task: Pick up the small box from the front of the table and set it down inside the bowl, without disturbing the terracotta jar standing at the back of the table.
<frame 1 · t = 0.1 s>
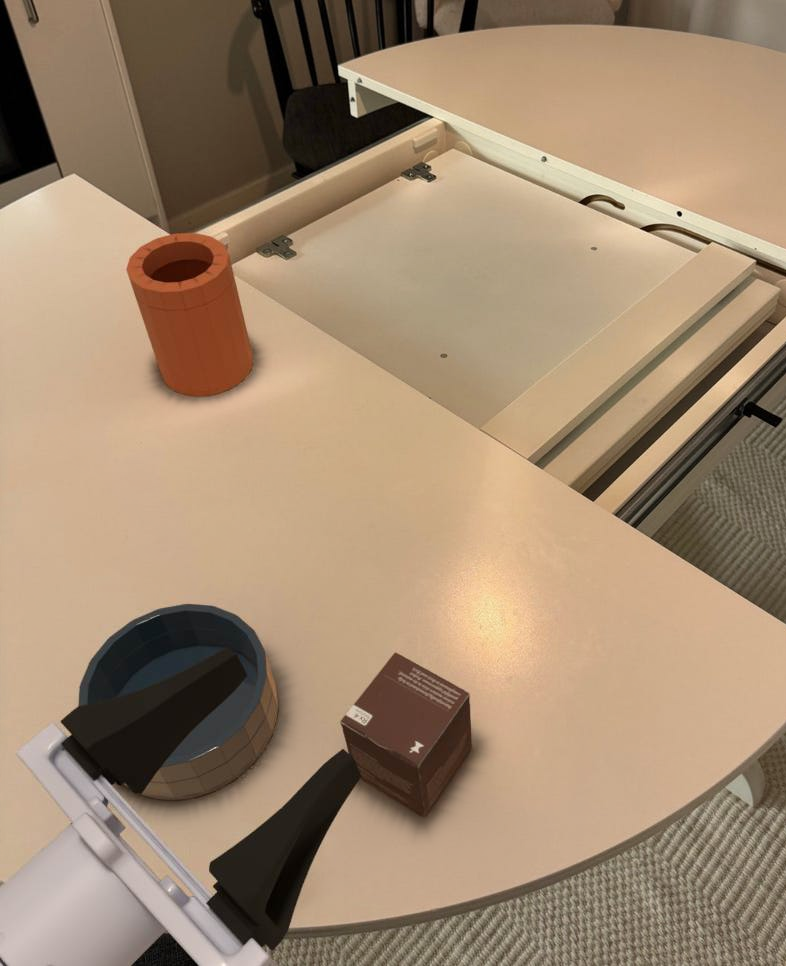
hand: (293, 709, 42), 23 cm above the table, tool horizontal, fingers open, 7 cm apart
jar: (207, 365, 92), on the table
box: (413, 761, 65), on the table
bowl: (190, 716, 67), on the table
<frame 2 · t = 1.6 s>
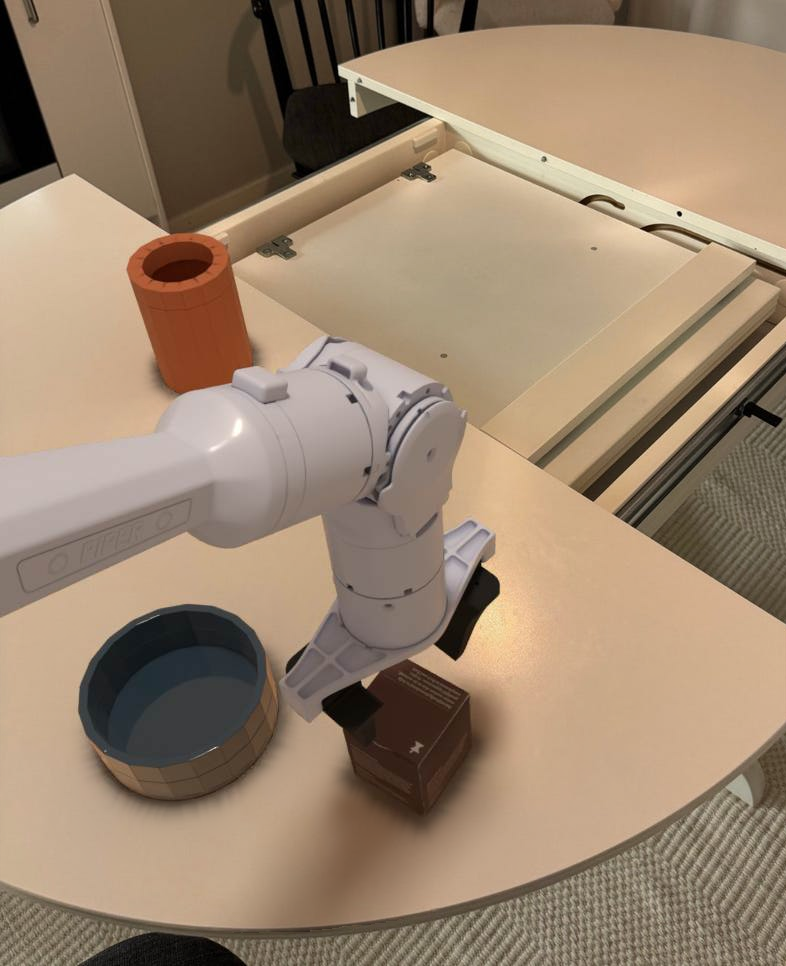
hand: (404, 689, 58), 9 cm above the table, tool pointing down, fingers open, 7 cm apart
nothing on the table moved.
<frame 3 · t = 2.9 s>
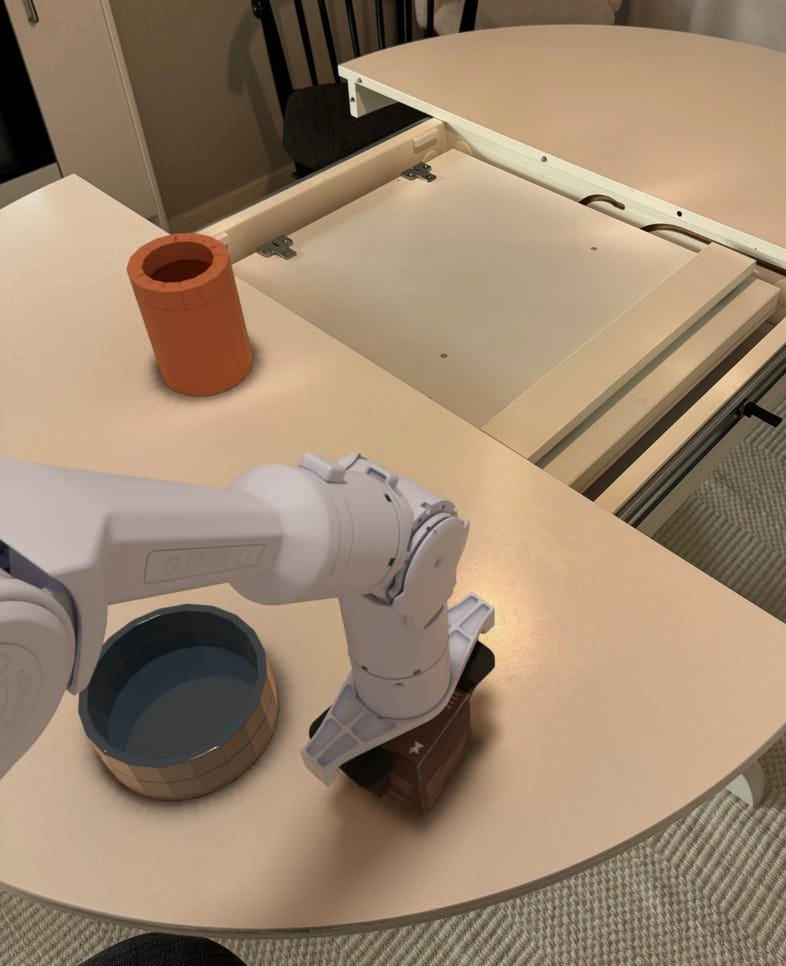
hand: (411, 746, 64), 2 cm above the table, tool pointing down, fingers closed on box, 6 cm apart
box: (412, 761, 65), on the table, touching gripper
everything else where it was.
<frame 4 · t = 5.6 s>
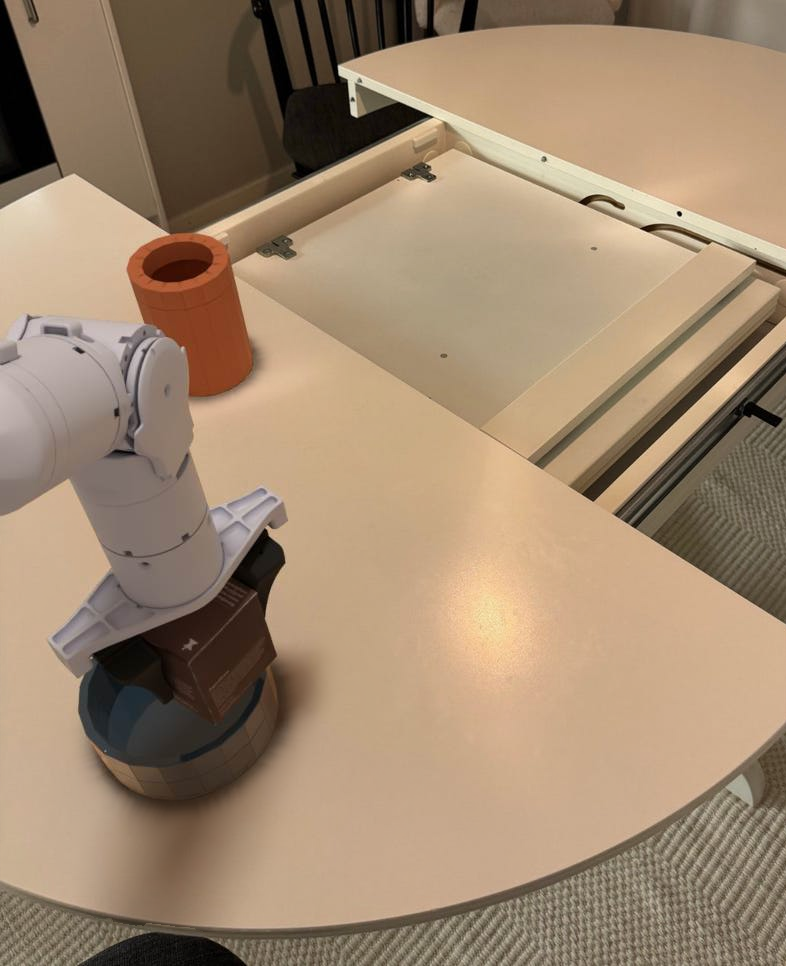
hand: (207, 654, 60), 9 cm above the table, tool pointing down, fingers closed on box, 6 cm apart
box: (214, 671, 61), point 7 cm above the table, touching gripper
everything else where it was.
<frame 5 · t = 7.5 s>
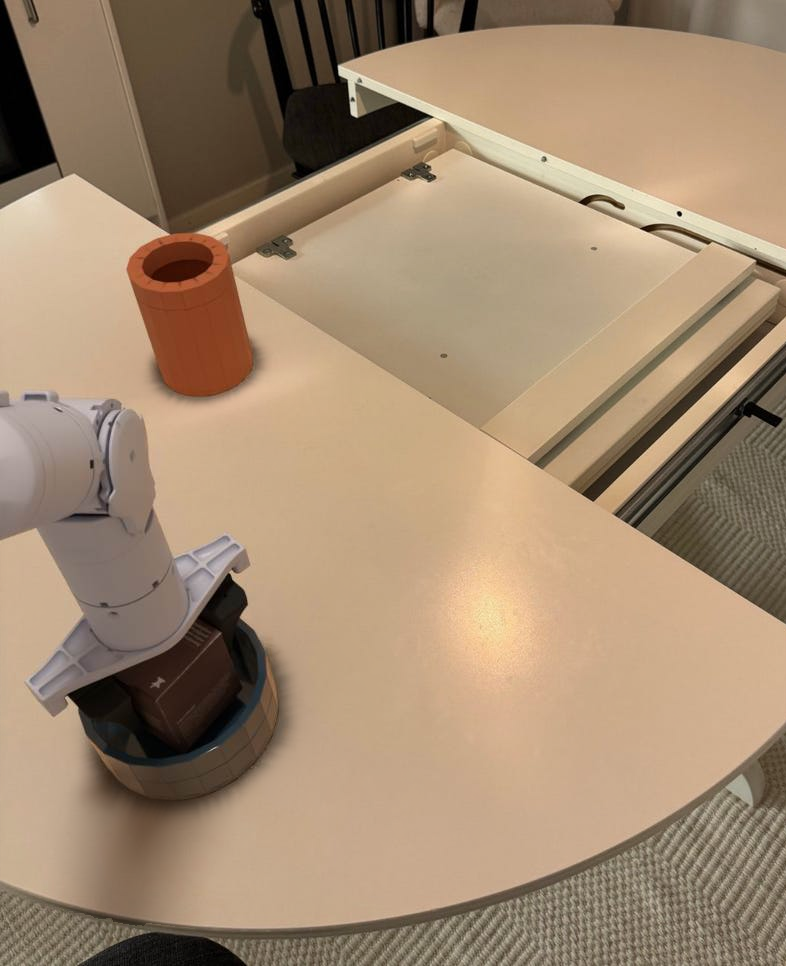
hand: (177, 688, 64), 4 cm above the table, tool pointing down, fingers closed on box, 6 cm apart
box: (183, 703, 66), point 2 cm above the table, touching gripper
everything else where it was.
when the fingers open (2 cm above the table, at t = 8.6 s): box stays where it is, resting on bowl.
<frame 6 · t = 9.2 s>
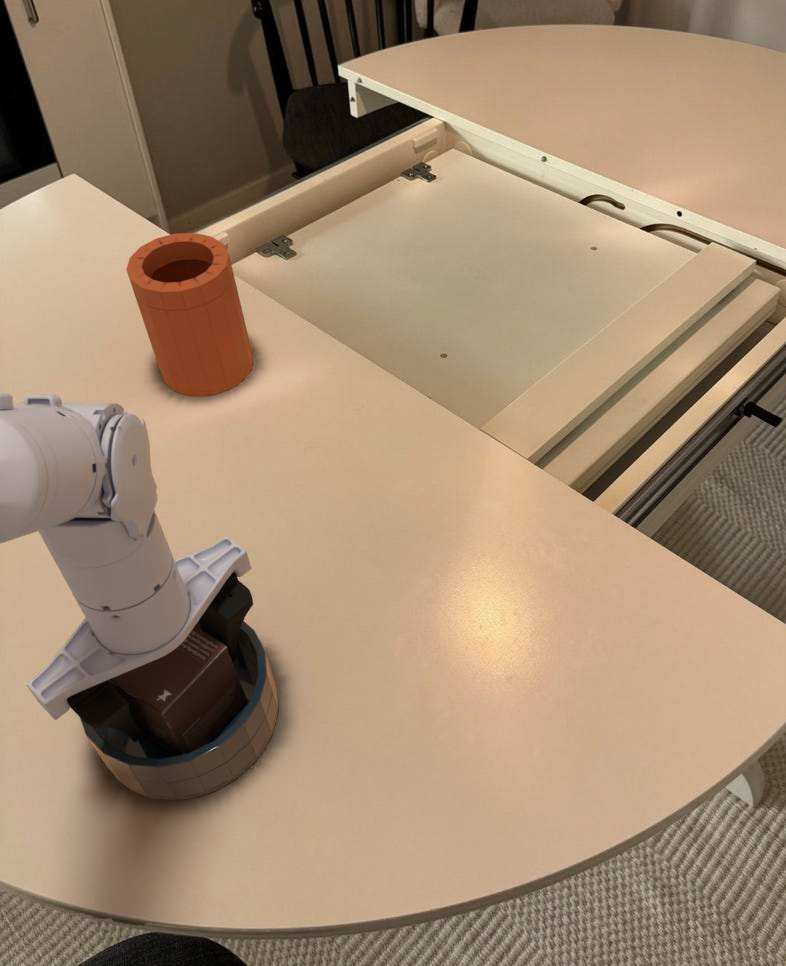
hand: (178, 690, 65), 4 cm above the table, tool pointing down, fingers open, 7 cm apart
box: (189, 714, 67), resting on bowl
everything else where it was.
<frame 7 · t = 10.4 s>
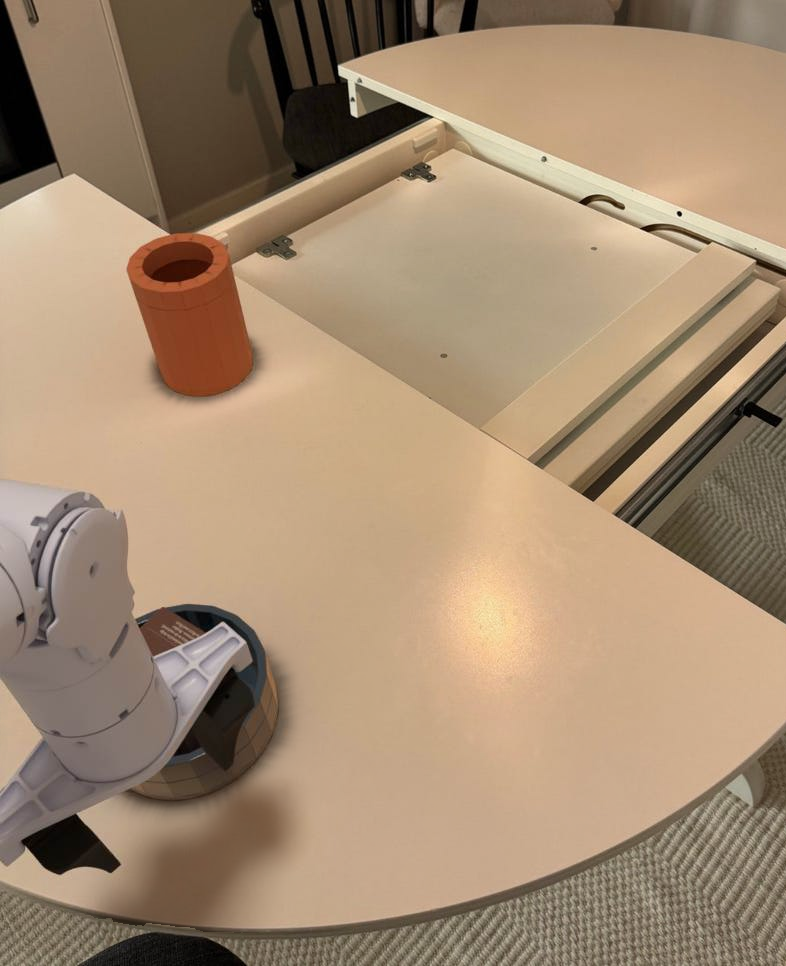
hand: (164, 805, 53), 9 cm above the table, tool pointing down, fingers open, 7 cm apart
nothing on the table moved.
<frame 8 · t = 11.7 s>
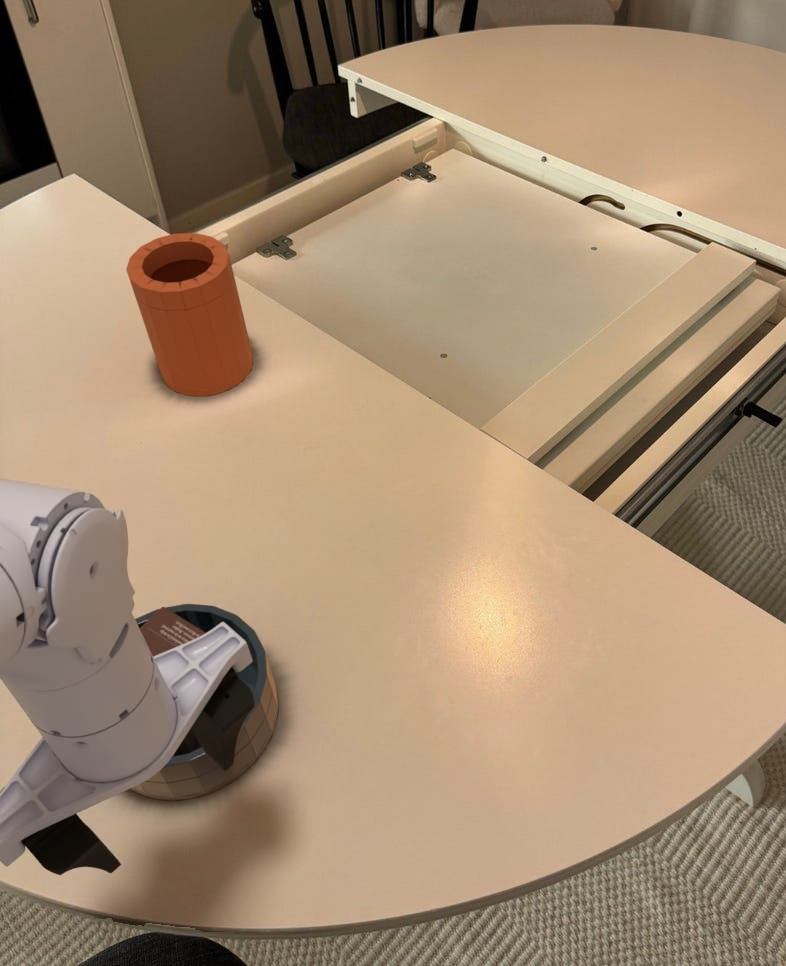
hand: (164, 805, 53), 9 cm above the table, tool pointing down, fingers open, 7 cm apart
nothing on the table moved.
at the end: box 0.0 cm off-centre in the bowl, point 0.3 cm above the bowl's base; box tilted 0°; jar moved 0.0 cm from its start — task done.
